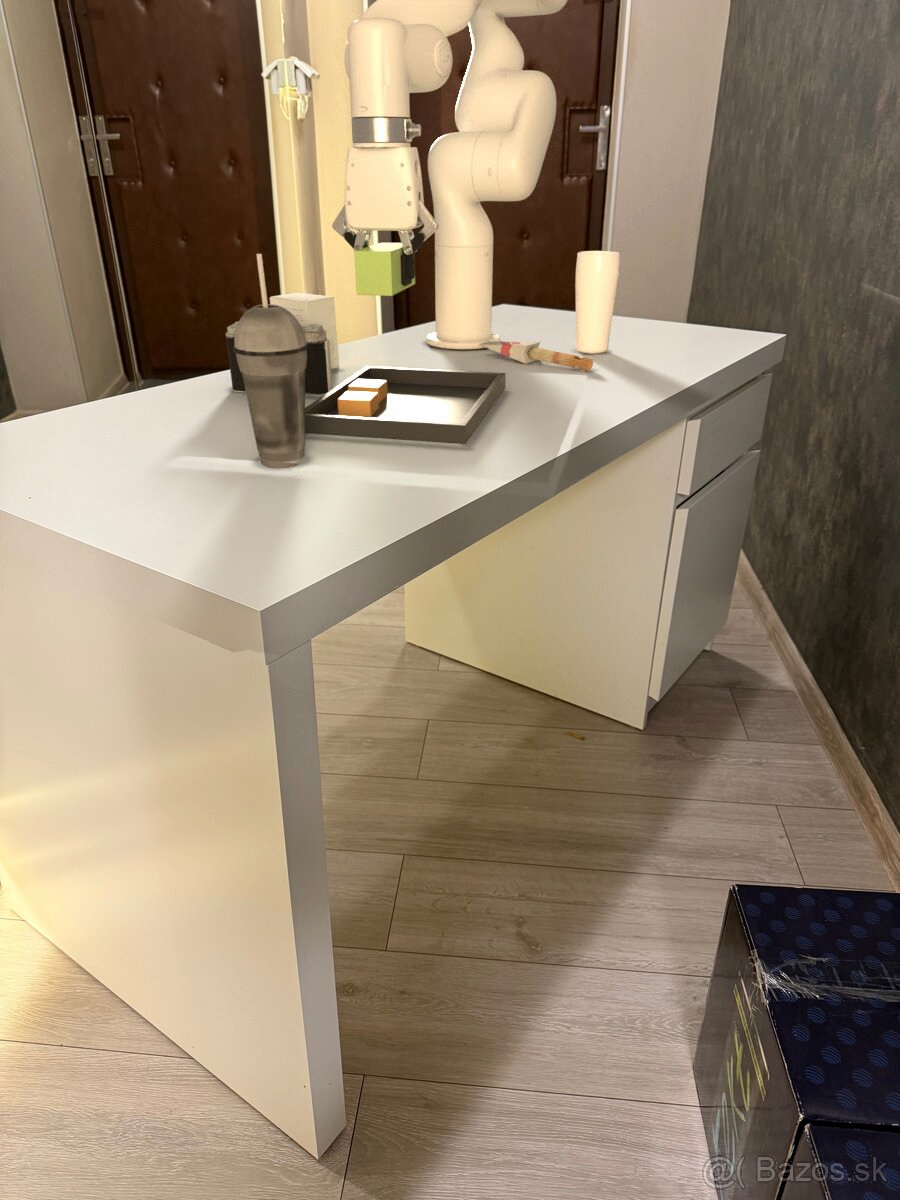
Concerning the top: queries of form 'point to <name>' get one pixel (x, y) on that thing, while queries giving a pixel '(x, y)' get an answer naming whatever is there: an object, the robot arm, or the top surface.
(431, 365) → the top surface
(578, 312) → the drinking glass
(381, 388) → the block
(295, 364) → the beverage cup
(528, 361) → the paintbrush
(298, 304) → the small box
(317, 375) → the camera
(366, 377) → the pan
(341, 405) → the block
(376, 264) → the sponge
